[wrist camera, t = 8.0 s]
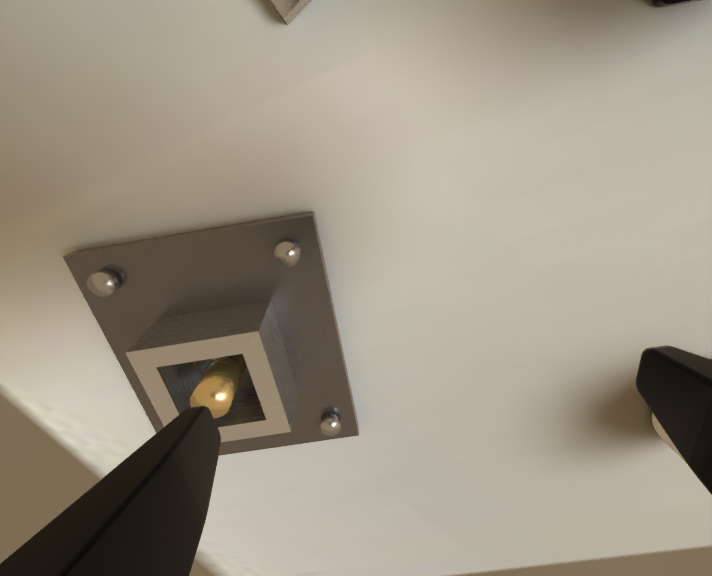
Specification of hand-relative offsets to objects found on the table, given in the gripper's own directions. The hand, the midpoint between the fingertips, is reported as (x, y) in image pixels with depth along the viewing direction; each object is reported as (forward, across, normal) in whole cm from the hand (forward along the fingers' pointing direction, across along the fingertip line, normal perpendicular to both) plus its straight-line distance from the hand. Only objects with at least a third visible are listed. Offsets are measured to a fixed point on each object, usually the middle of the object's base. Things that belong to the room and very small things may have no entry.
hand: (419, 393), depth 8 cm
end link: (+10, +9, +5) cm, 15 cm away
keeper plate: (+11, +9, +6) cm, 15 cm away
